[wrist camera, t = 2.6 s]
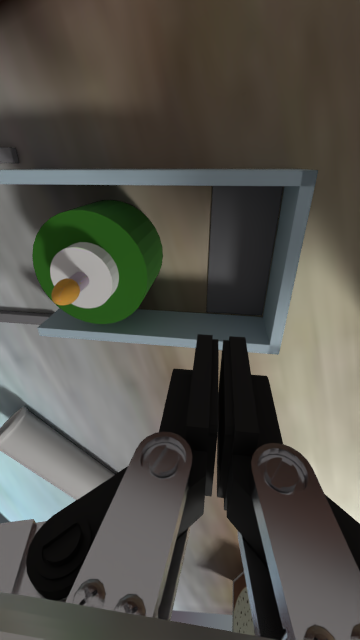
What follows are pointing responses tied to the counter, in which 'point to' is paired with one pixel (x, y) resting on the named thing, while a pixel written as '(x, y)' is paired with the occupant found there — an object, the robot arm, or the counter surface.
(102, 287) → the candle
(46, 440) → the tube
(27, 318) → the strips
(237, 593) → the food container
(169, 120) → the counter surface
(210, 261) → the pale blue tray
